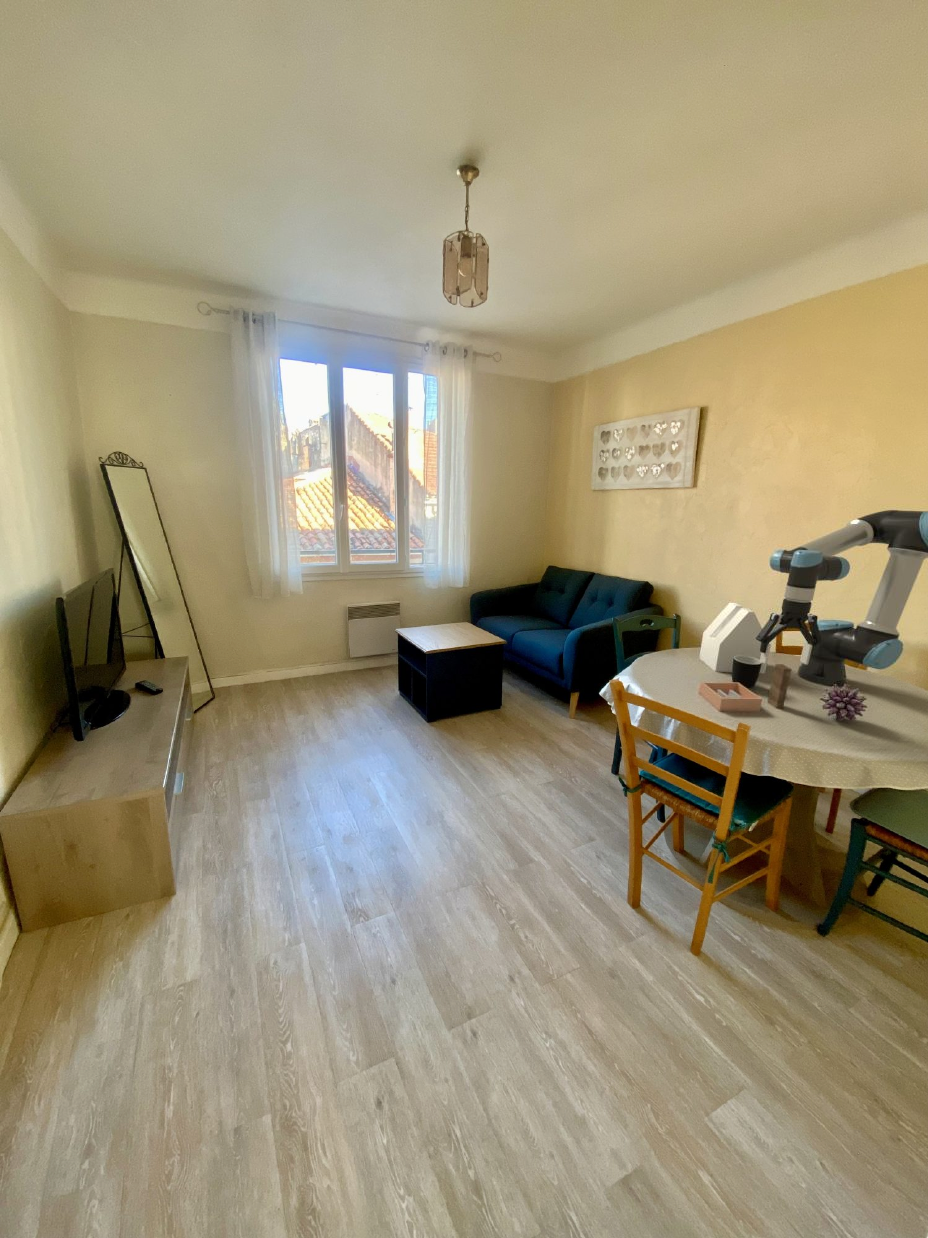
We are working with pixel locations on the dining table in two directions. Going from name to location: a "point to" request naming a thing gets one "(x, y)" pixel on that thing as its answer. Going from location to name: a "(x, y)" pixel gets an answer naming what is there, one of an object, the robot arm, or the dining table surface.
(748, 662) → the mug
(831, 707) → the purple spiky ball
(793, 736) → the dining table surface
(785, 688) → the brown tall bar
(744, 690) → the pink shallow tray
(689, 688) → the dining table surface
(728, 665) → the white house-shaped block
